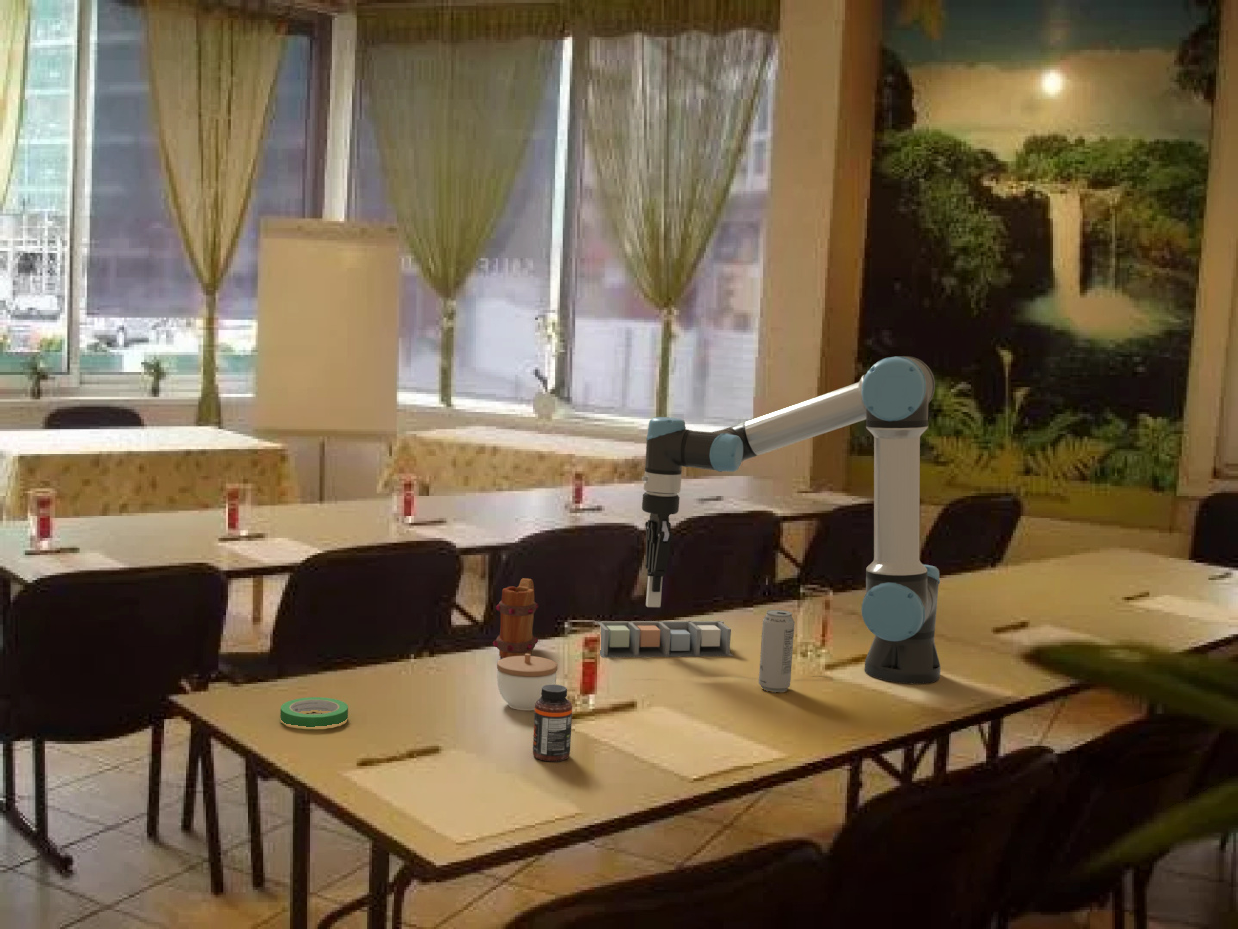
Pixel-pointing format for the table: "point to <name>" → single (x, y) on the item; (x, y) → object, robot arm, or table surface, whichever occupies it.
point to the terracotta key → (649, 636)
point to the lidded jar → (524, 679)
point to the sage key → (618, 636)
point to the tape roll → (314, 703)
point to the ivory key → (709, 635)
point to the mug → (516, 620)
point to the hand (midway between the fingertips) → (653, 606)
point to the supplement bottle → (552, 724)
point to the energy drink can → (776, 650)
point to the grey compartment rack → (665, 640)
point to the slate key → (679, 640)
